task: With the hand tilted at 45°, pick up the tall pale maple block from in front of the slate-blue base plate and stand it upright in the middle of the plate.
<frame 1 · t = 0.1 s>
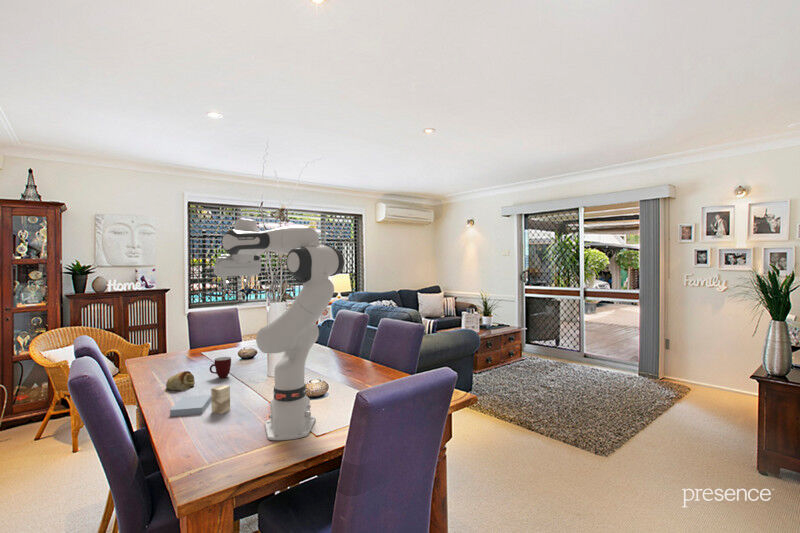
hand: (235, 284, 176), 52 cm above the table, tool tilted 20°, fingers open, 8 cm apart
mug: (220, 377, 215), on the table
base plate: (192, 409, 171), on the table
maple block: (221, 411, 167), on the table
pastry: (180, 387, 200), on the table
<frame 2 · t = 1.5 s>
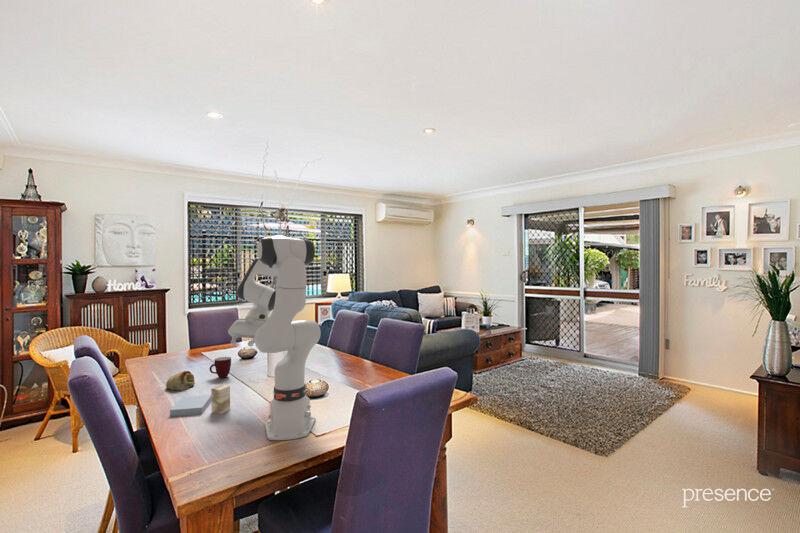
hand: (241, 344, 178), 25 cm above the table, tool tilted 45°, fingers open, 8 cm apart
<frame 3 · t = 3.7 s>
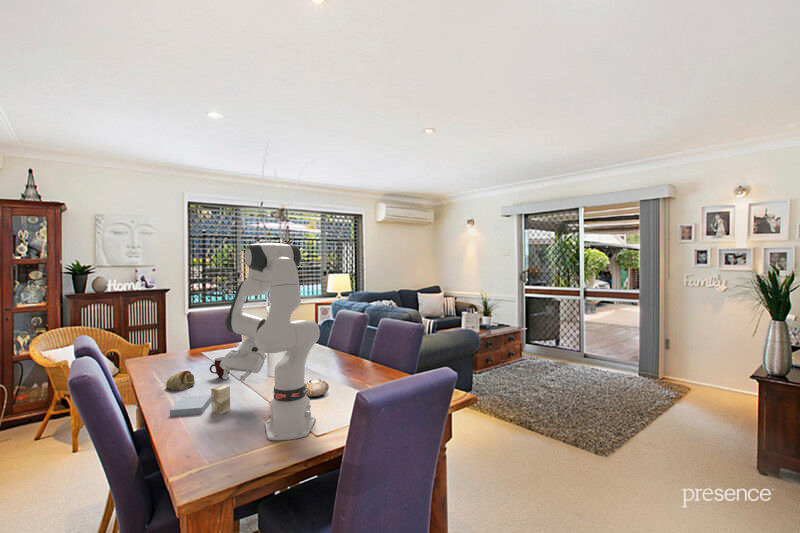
hand: (232, 379, 173), 11 cm above the table, tool tilted 45°, fingers open, 8 cm apart
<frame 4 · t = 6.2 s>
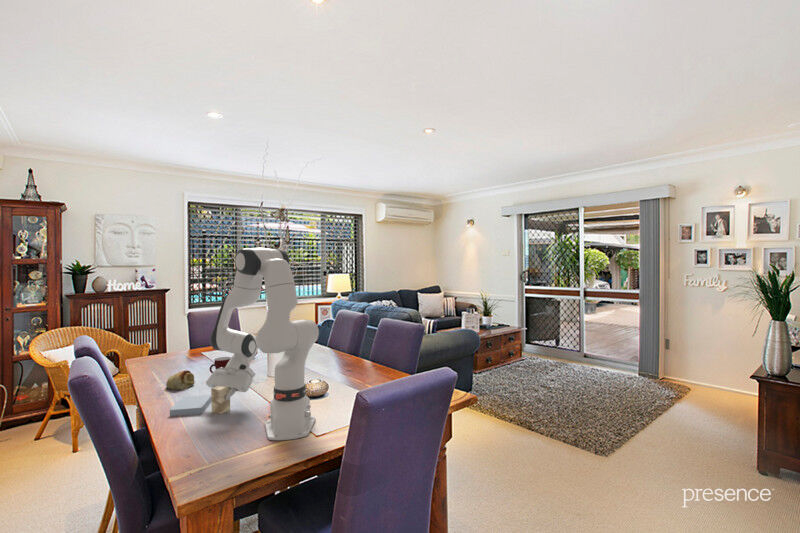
hand: (219, 398, 166), 5 cm above the table, tool tilted 45°, fingers closed on maple block, 5 cm apart
maple block: (221, 411, 167), on the table, touching gripper
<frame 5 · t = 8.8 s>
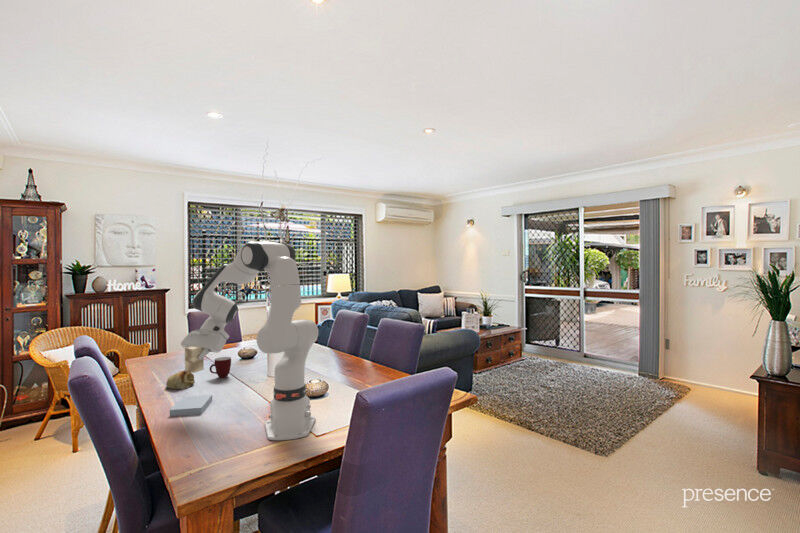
hand: (192, 358, 170), 21 cm above the table, tool tilted 45°, fingers closed on maple block, 5 cm apart
maple block: (194, 370, 171), point 16 cm above the table, touching gripper
when the fingers open (10 cm above the table, at t = 11.4 s): maple block drops 2 cm, resting on base plate.
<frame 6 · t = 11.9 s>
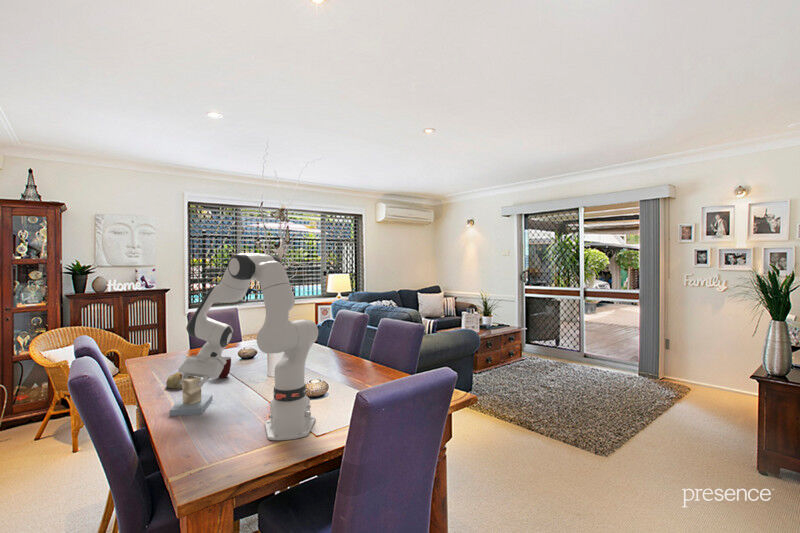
hand: (190, 385, 170), 10 cm above the table, tool tilted 45°, fingers open, 8 cm apart
base plate: (192, 409, 171), on the table, touching maple block
maple block: (192, 402, 171), point 2 cm above the table, touching base plate
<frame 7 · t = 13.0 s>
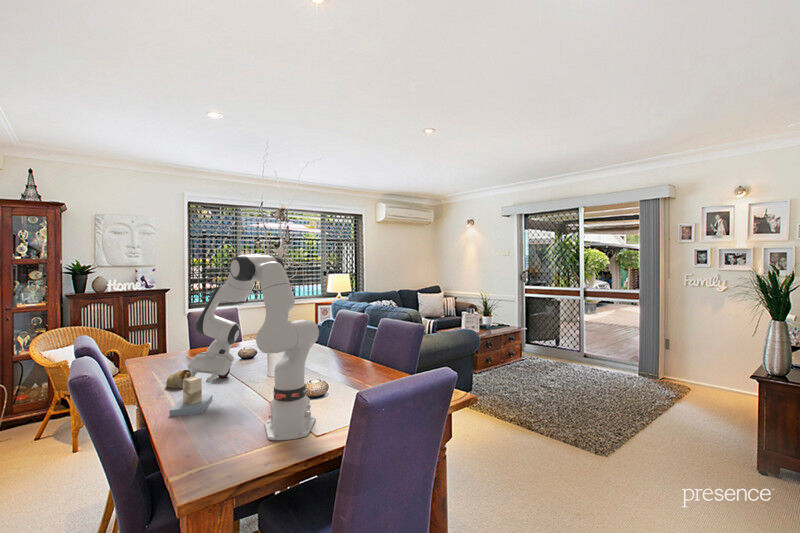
hand: (199, 381, 175), 10 cm above the table, tool tilted 45°, fingers open, 8 cm apart
base plate: (192, 409, 171), on the table
maple block: (192, 402, 171), point 2 cm above the table
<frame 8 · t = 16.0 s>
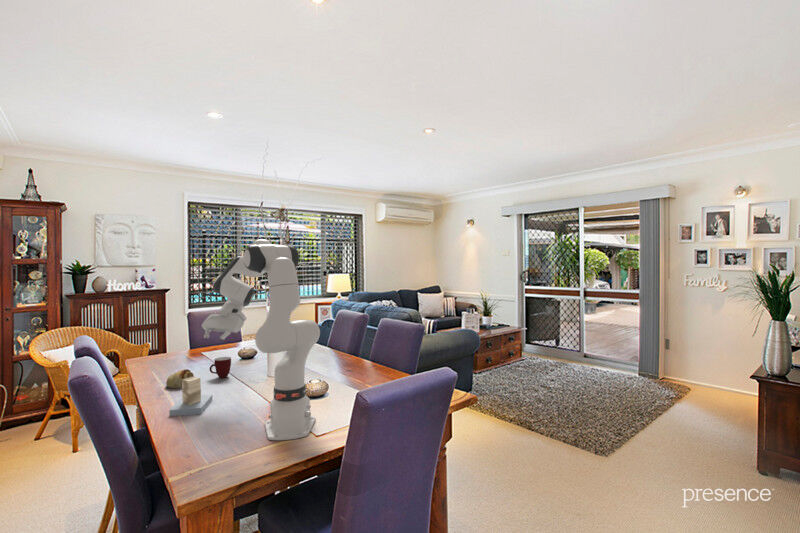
hand: (213, 338, 182), 27 cm above the table, tool tilted 45°, fingers open, 8 cm apart
at the end: maple block inside the target area on the base plate (0.1 cm from its centre), point 3.0 cm above the base plate's base; maple block tilted 1°; the gripper is holding nothing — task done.
